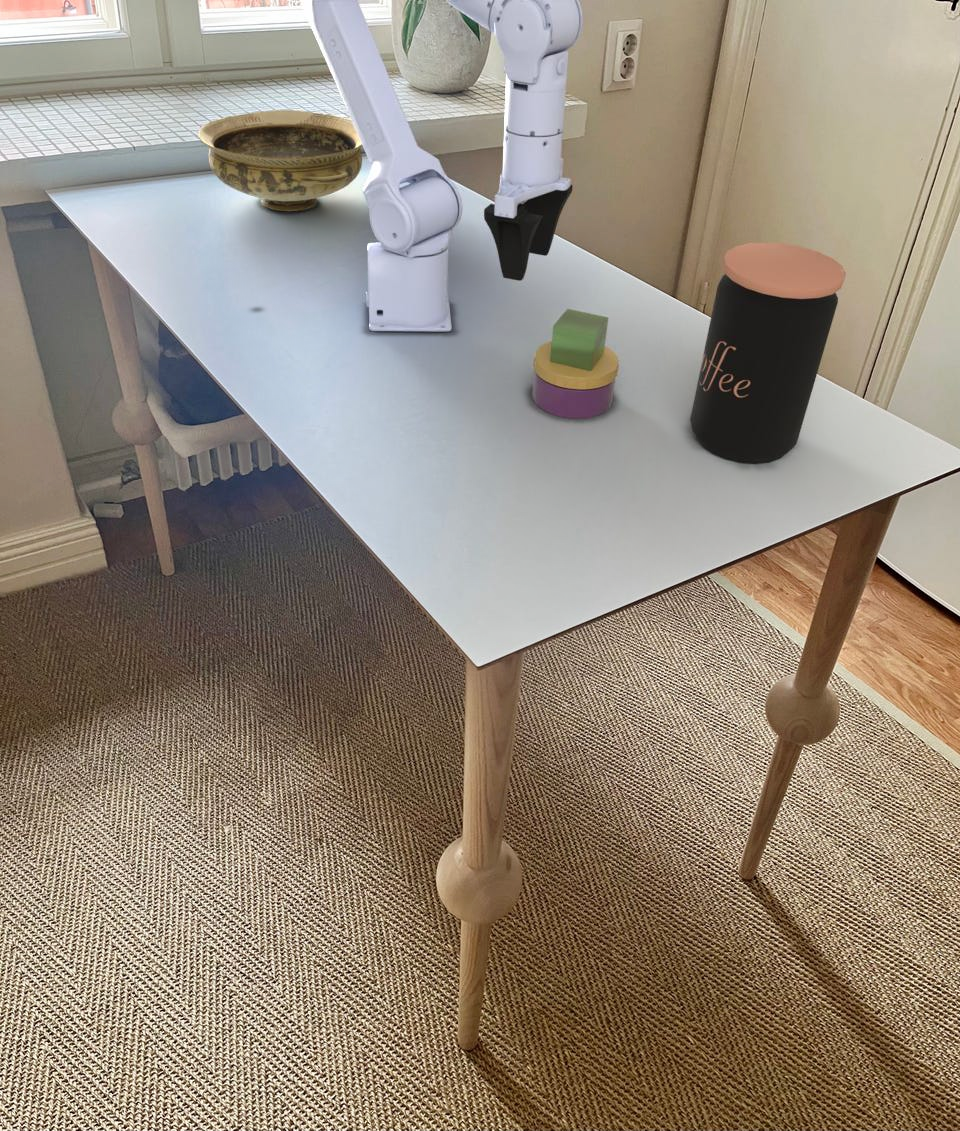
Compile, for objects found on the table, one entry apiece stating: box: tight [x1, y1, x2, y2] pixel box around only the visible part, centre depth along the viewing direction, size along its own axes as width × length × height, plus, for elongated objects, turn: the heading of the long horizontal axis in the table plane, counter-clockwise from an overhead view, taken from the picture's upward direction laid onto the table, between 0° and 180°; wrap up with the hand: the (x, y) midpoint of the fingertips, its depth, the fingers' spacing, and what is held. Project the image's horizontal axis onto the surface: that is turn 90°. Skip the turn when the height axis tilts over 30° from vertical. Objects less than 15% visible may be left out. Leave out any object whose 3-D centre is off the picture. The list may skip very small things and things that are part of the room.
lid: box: [532, 340, 620, 389], centre depth 100 cm, size 9×9×1 cm
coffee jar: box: [689, 241, 847, 465], centre depth 92 cm, size 11×11×18 cm
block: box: [550, 308, 609, 371], centre depth 98 cm, size 4×4×4 cm
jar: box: [531, 370, 616, 420], centre depth 101 cm, size 8×8×4 cm
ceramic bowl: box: [197, 109, 363, 212], centre depth 141 cm, size 30×24×10 cm
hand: (526, 265), depth 103 cm, fingers open, 7 cm apart
